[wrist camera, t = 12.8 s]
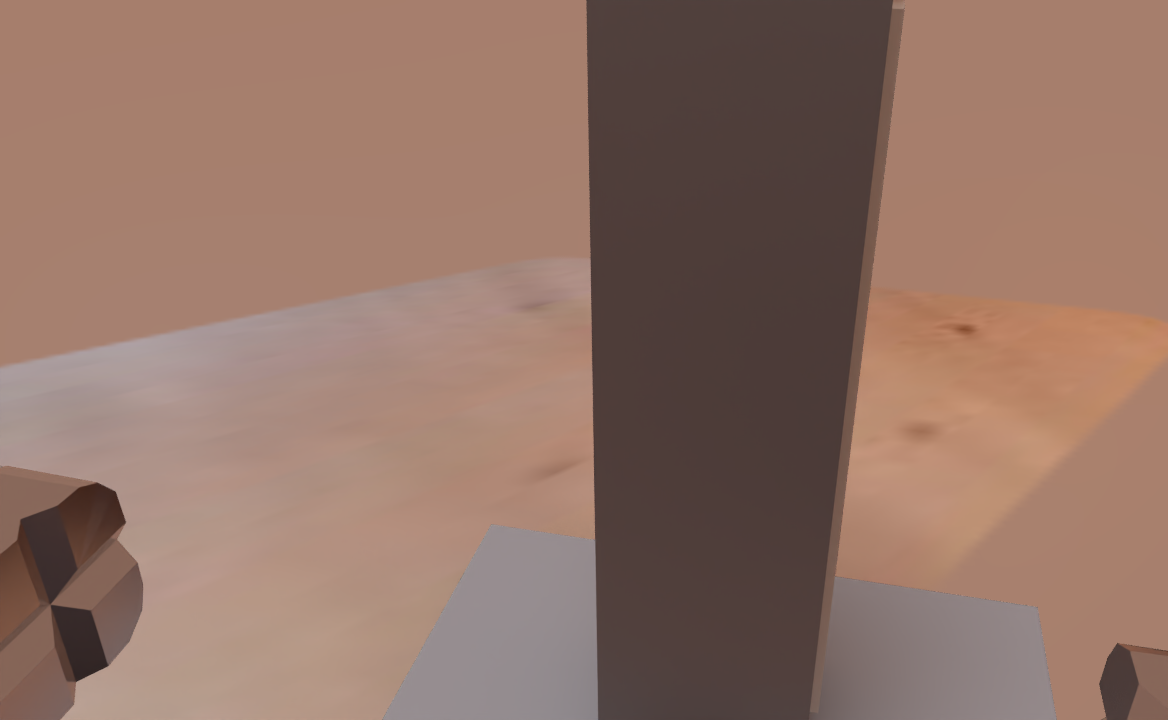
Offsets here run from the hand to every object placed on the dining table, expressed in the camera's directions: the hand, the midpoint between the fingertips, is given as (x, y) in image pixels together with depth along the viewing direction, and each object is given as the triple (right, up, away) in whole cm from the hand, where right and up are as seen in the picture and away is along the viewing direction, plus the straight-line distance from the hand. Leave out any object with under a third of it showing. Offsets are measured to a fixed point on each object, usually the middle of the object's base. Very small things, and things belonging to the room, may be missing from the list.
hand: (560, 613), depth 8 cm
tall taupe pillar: (+3, -7, +17) cm, 19 cm away
